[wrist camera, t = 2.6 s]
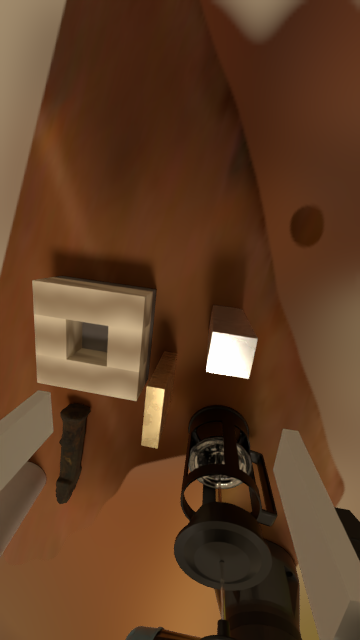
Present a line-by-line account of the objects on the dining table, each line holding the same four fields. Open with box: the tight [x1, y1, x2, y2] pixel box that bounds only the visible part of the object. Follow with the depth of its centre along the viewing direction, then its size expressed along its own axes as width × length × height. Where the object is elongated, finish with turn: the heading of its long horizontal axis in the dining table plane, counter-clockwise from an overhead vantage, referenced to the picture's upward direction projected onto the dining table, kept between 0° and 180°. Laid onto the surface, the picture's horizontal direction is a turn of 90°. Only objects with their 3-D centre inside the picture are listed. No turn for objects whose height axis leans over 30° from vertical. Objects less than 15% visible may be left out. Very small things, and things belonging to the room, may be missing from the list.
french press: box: [174, 405, 277, 640], centre depth 28 cm, size 12×9×23 cm
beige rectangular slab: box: [141, 351, 177, 449], centre depth 33 cm, size 8×2×10 cm, turn 173°
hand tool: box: [56, 403, 91, 504], centre depth 42 cm, size 19×4×5 cm, turn 166°
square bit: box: [206, 305, 258, 379], centre depth 28 cm, size 4×4×12 cm
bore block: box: [32, 276, 157, 401], centre depth 34 cm, size 14×14×6 cm
